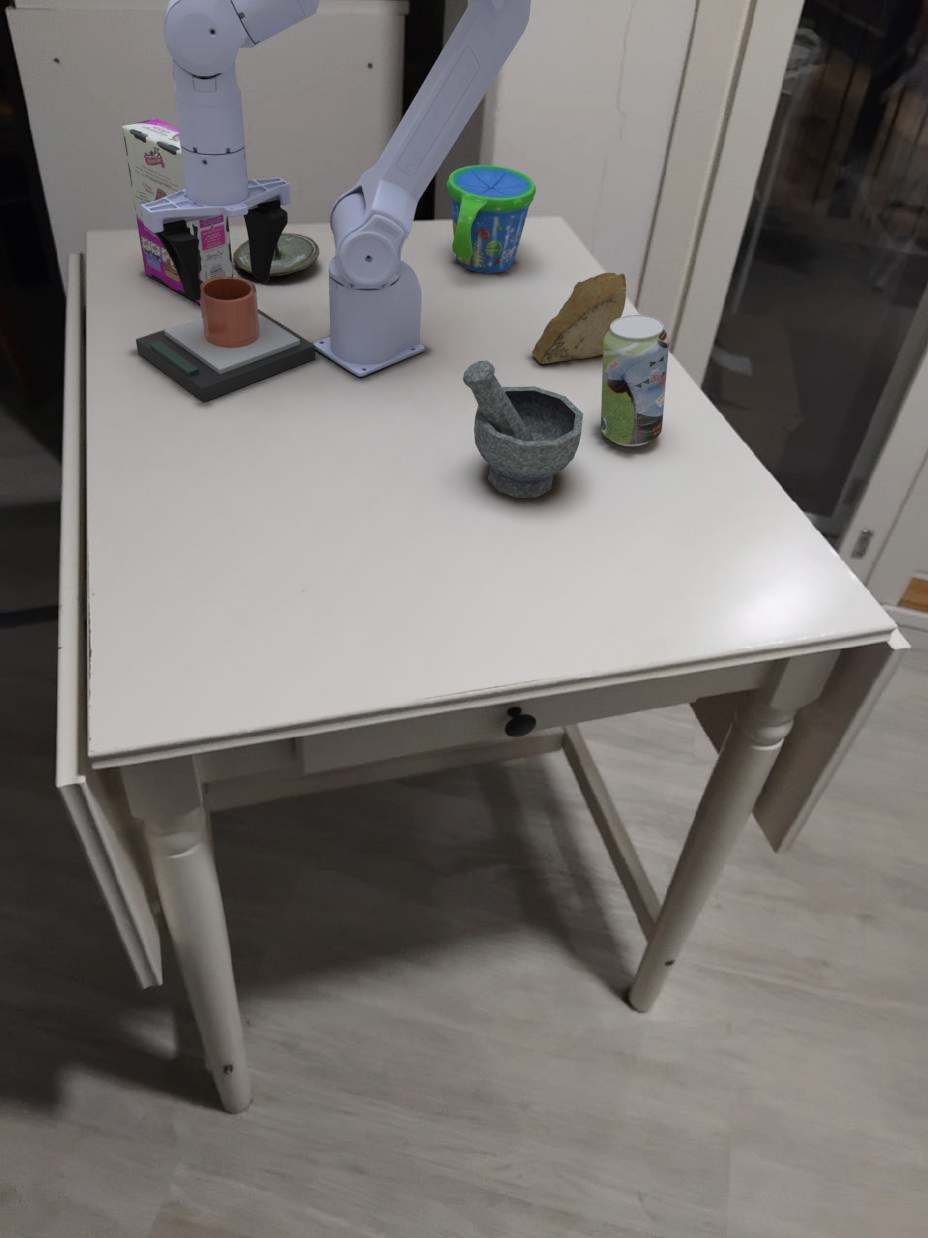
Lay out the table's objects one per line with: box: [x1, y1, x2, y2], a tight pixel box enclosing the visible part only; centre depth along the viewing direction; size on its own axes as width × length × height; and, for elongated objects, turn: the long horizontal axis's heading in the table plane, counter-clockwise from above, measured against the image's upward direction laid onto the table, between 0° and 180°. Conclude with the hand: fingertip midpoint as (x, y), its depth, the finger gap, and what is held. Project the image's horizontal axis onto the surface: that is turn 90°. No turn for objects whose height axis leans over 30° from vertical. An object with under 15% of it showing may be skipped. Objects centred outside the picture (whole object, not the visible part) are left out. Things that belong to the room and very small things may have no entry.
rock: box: [531, 272, 627, 365], centre depth 104 cm, size 11×9×10 cm
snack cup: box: [446, 164, 537, 274], centre depth 117 cm, size 16×10×10 cm
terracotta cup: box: [199, 276, 259, 348], centre depth 97 cm, size 6×6×5 cm
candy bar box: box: [121, 118, 235, 304], centre depth 105 cm, size 11×5×16 cm, turn 49°
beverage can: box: [600, 314, 670, 447], centre depth 91 cm, size 6×7×12 cm
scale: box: [135, 308, 316, 403], centre depth 99 cm, size 14×12×2 cm
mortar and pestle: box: [462, 360, 584, 499], centre depth 84 cm, size 11×9×12 cm
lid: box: [232, 232, 320, 277], centre depth 114 cm, size 11×10×5 cm
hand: (227, 287), depth 95 cm, fingers open, 7 cm apart
